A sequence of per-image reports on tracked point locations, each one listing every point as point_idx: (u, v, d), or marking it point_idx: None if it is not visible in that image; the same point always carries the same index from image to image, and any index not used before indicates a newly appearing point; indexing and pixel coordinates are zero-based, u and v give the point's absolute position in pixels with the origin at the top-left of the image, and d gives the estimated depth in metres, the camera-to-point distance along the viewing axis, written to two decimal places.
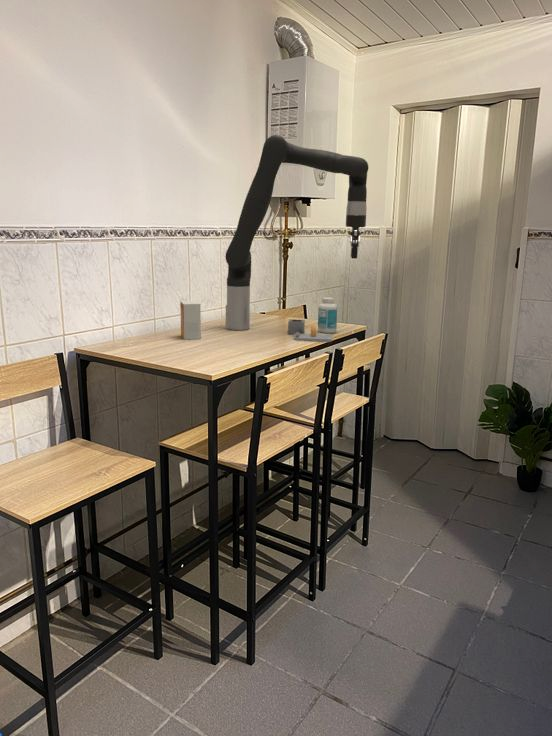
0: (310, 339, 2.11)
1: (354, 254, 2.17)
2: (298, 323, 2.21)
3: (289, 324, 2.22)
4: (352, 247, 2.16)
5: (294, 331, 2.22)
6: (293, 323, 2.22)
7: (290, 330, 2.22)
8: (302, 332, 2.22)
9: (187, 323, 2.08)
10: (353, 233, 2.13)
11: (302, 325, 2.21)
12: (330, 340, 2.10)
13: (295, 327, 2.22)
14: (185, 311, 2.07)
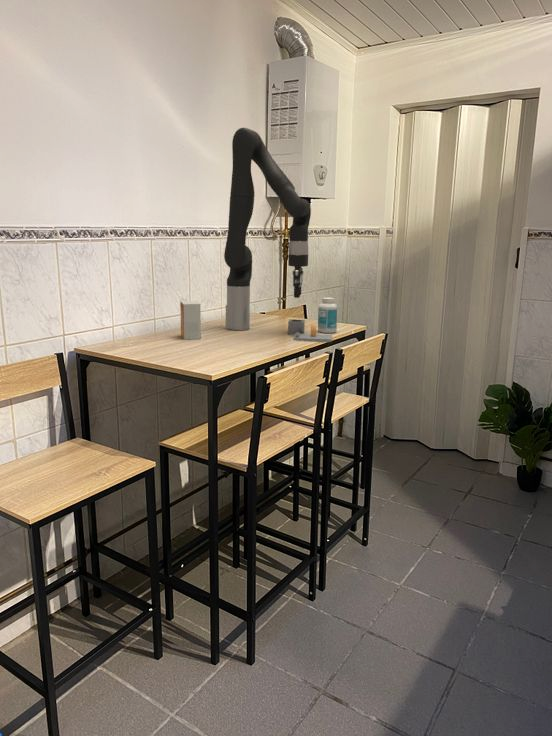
0: (310, 339, 2.11)
1: None
2: (298, 323, 2.21)
3: (289, 324, 2.22)
4: (294, 287, 2.16)
5: (294, 331, 2.22)
6: (293, 323, 2.22)
7: (290, 330, 2.22)
8: (302, 332, 2.22)
9: (187, 323, 2.08)
10: (294, 273, 2.13)
11: (302, 325, 2.21)
12: (330, 340, 2.10)
13: (295, 327, 2.22)
14: (185, 311, 2.07)
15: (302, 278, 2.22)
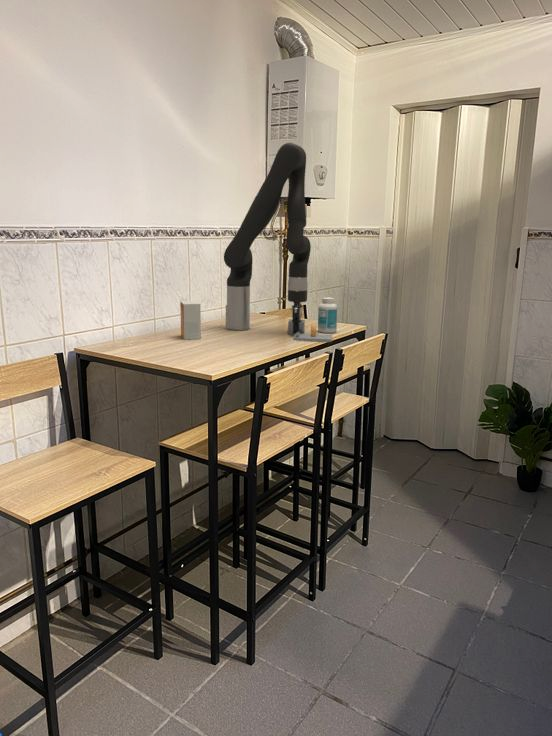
0: (310, 339, 2.11)
1: None
2: None
3: (289, 324, 2.22)
4: (293, 323, 2.20)
5: None
6: None
7: (290, 330, 2.22)
8: (302, 332, 2.22)
9: (187, 323, 2.08)
10: (293, 311, 2.17)
11: (302, 325, 2.21)
12: (330, 340, 2.10)
13: None
14: (185, 311, 2.07)
15: (301, 313, 2.25)
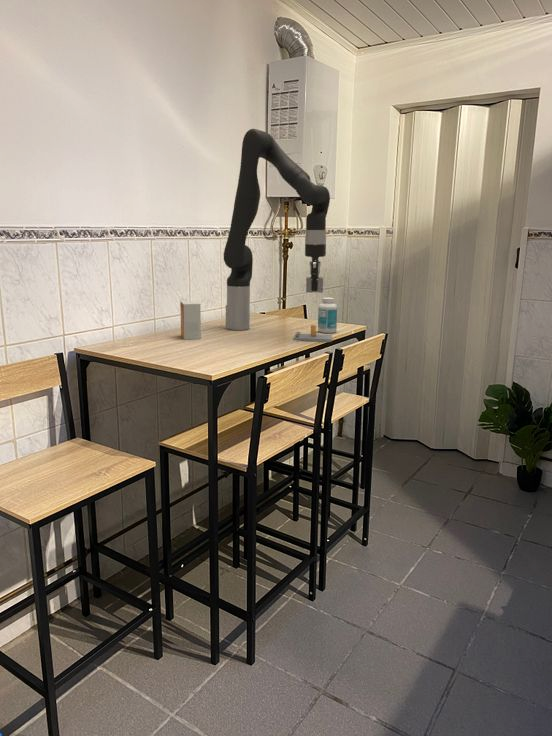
0: (310, 339, 2.11)
1: (314, 286, 2.08)
2: (317, 280, 2.08)
3: (307, 281, 2.08)
4: (312, 279, 2.07)
5: None
6: (311, 280, 2.08)
7: (308, 287, 2.09)
8: (321, 289, 2.09)
9: (187, 323, 2.08)
10: (312, 266, 2.03)
11: (321, 282, 2.08)
12: (330, 340, 2.10)
13: None
14: (185, 311, 2.07)
15: None
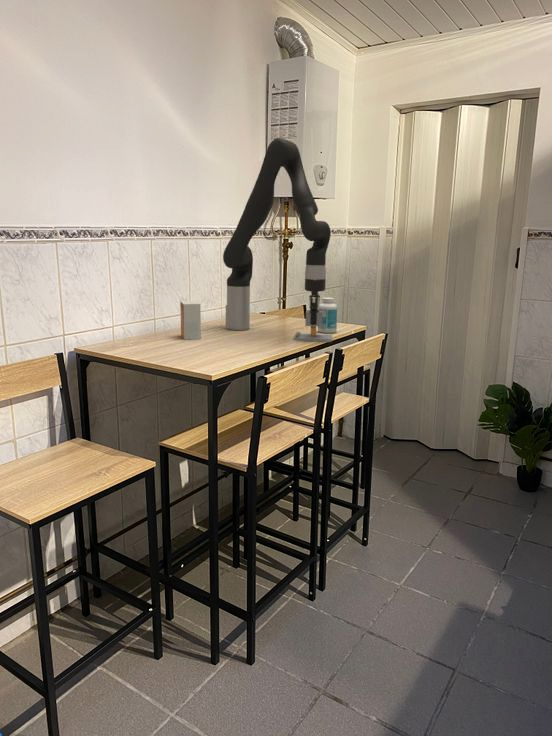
0: (310, 339, 2.11)
1: None
2: None
3: (307, 315, 2.10)
4: (311, 314, 2.09)
5: None
6: None
7: (307, 321, 2.11)
8: (320, 323, 2.10)
9: (187, 323, 2.08)
10: (311, 301, 2.05)
11: (320, 316, 2.10)
12: (330, 340, 2.10)
13: None
14: (185, 311, 2.07)
15: None
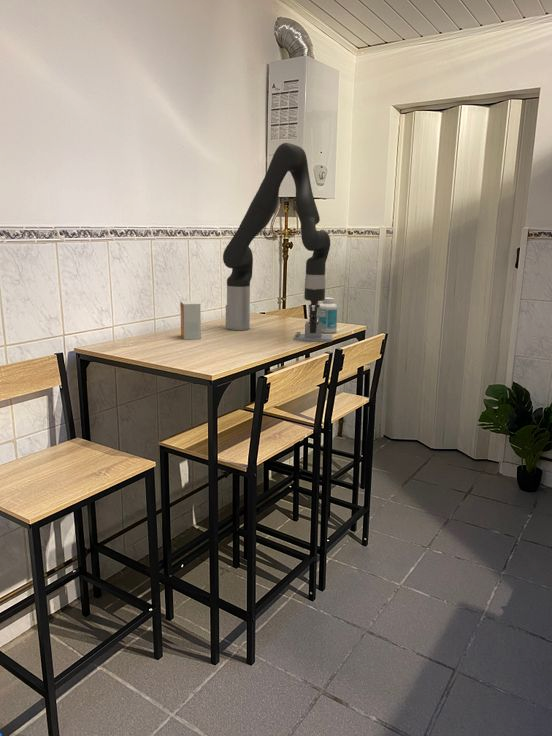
0: (310, 339, 2.11)
1: None
2: None
3: (306, 326, 2.11)
4: (310, 322, 2.09)
5: (311, 334, 2.12)
6: None
7: (306, 333, 2.12)
8: (320, 335, 2.12)
9: (187, 323, 2.08)
10: (311, 308, 2.06)
11: (320, 328, 2.11)
12: (330, 340, 2.10)
13: None
14: (185, 311, 2.07)
15: (318, 312, 2.15)
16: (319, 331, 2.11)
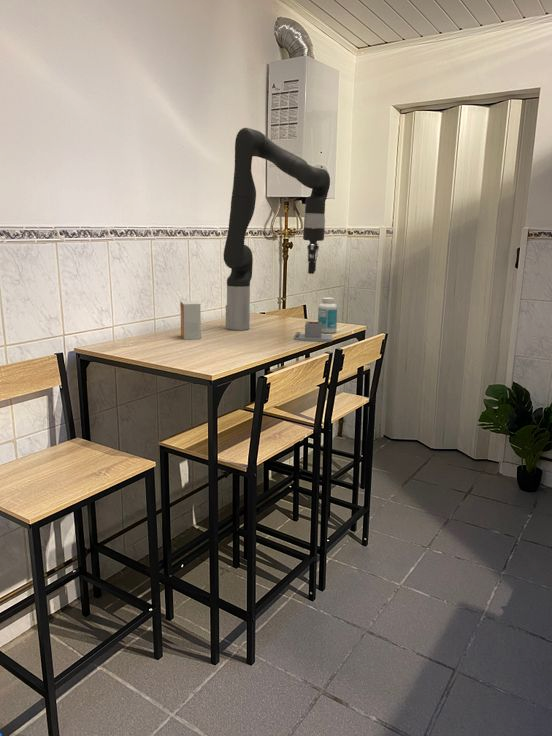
0: (310, 339, 2.11)
1: (311, 269, 2.06)
2: (315, 325, 2.11)
3: (306, 326, 2.11)
4: (309, 262, 2.04)
5: (311, 334, 2.12)
6: (310, 325, 2.11)
7: (306, 333, 2.12)
8: (320, 335, 2.12)
9: (187, 323, 2.08)
10: (309, 247, 2.01)
11: (320, 328, 2.11)
12: (330, 340, 2.10)
13: (312, 330, 2.11)
14: (185, 311, 2.07)
15: (317, 253, 2.11)
16: (319, 331, 2.11)
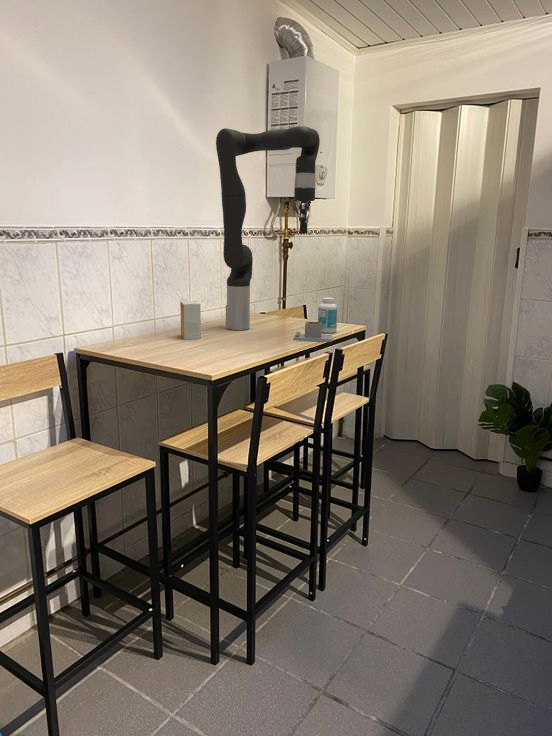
0: (310, 339, 2.11)
1: (302, 229, 2.06)
2: (315, 325, 2.11)
3: (306, 326, 2.11)
4: (300, 222, 2.04)
5: (311, 334, 2.12)
6: (310, 325, 2.11)
7: (306, 333, 2.12)
8: (320, 335, 2.12)
9: (187, 323, 2.08)
10: (300, 206, 2.02)
11: (320, 328, 2.11)
12: (330, 340, 2.10)
13: (312, 330, 2.11)
14: (185, 311, 2.07)
15: (308, 215, 2.11)
16: (319, 331, 2.11)
